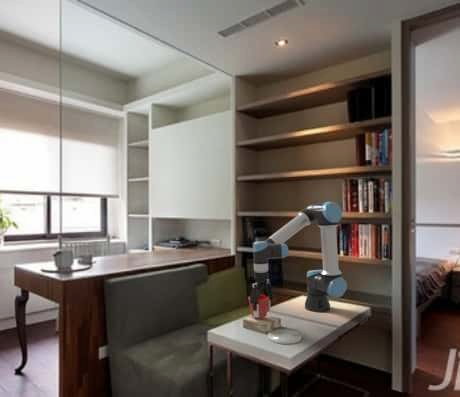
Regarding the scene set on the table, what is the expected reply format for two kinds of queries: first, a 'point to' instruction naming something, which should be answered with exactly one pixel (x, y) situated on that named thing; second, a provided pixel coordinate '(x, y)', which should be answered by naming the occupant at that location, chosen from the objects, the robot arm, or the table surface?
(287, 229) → the robot arm
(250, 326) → the stand
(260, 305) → the flower pot
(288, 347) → the table surface
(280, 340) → the pale grey round plate
